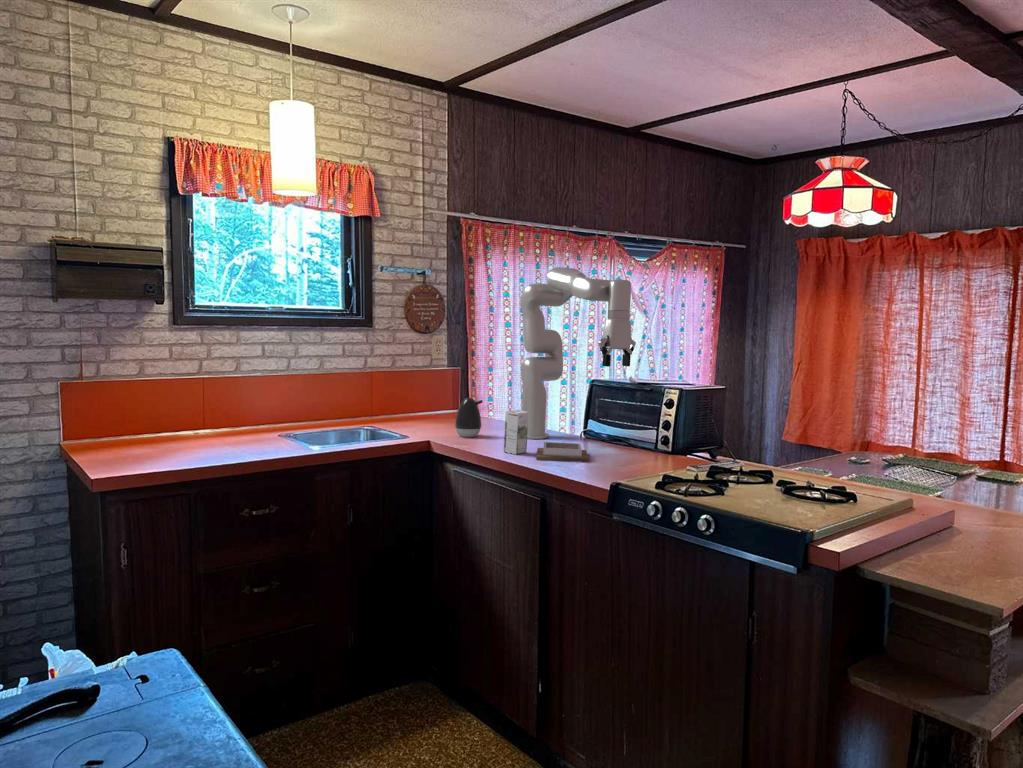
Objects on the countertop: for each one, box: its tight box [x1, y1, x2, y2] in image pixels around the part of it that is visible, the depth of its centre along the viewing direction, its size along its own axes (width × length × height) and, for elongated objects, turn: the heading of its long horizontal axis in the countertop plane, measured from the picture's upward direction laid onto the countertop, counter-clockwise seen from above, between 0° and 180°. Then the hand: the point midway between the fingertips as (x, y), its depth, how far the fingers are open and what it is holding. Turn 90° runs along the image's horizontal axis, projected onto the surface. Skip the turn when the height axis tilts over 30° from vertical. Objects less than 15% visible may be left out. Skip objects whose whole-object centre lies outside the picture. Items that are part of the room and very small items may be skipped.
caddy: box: [535, 441, 589, 463], centre depth 251 cm, size 17×17×4 cm
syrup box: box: [503, 409, 528, 455], centre depth 254 cm, size 6×6×14 cm
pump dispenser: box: [454, 397, 484, 438], centre depth 287 cm, size 10×10×15 cm
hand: (616, 366), depth 254 cm, fingers open, 9 cm apart
